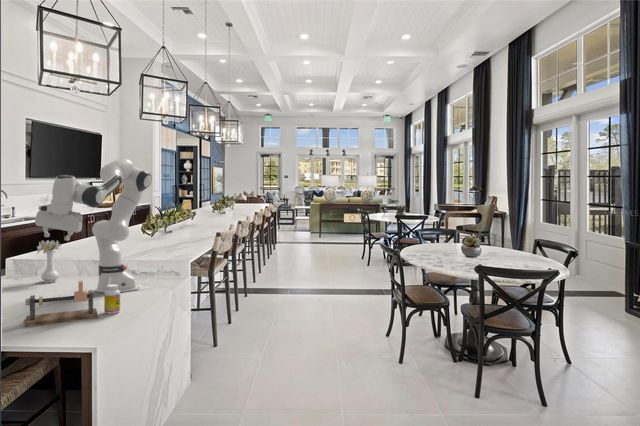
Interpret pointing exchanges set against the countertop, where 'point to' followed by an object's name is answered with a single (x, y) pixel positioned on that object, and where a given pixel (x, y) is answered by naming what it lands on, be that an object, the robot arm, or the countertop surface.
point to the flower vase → (49, 260)
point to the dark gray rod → (50, 299)
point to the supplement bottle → (112, 299)
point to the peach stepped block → (80, 293)
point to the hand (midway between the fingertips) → (56, 238)
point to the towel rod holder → (60, 314)
